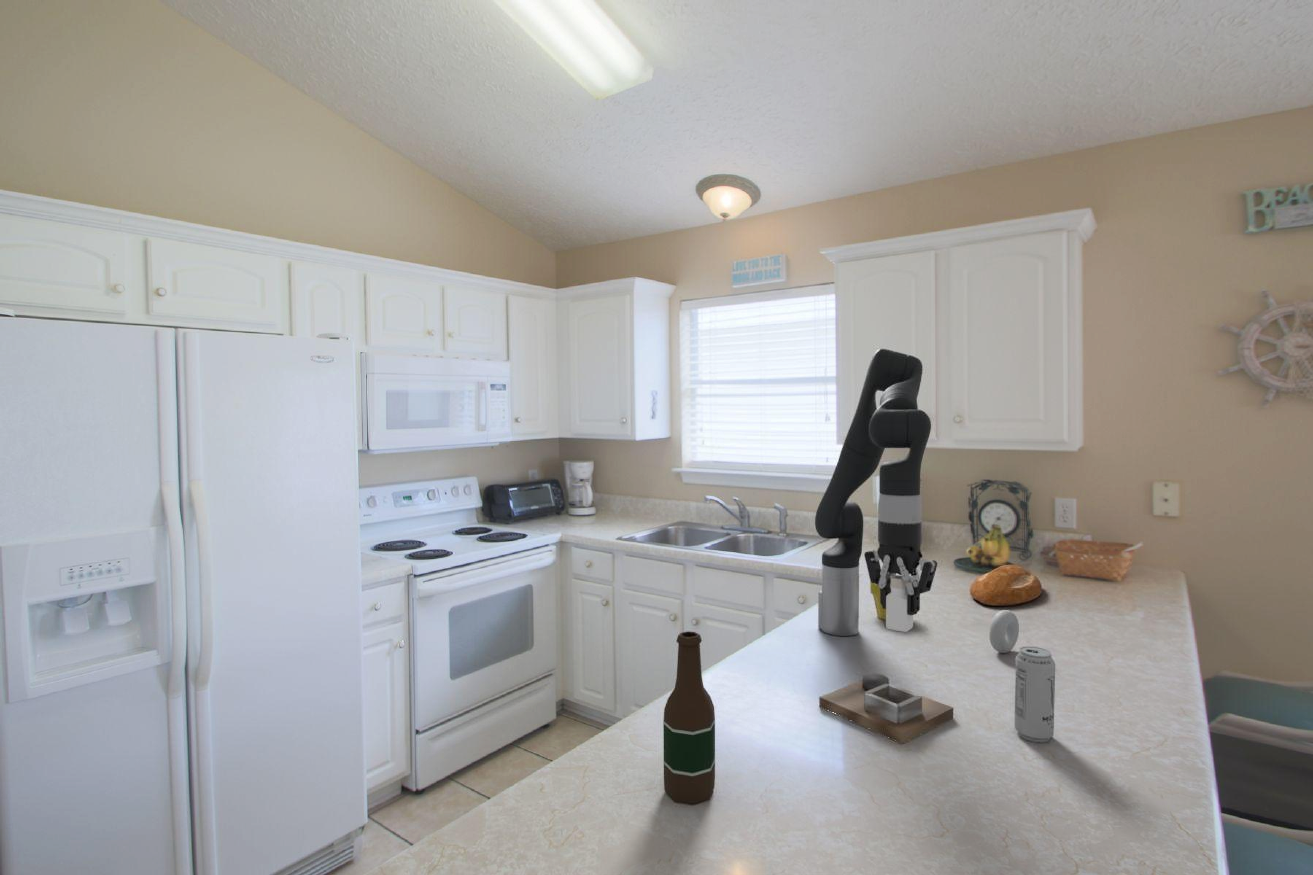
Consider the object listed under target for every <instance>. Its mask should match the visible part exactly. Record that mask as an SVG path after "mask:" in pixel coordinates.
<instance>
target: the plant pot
mask: <svg viewBox="0 0 1313 875" xmlns="http://www.w3.org/2000/svg"><path fill="white" fill-rule="evenodd" d="M869 581H870V580H869ZM869 583H870V584H869V586H870V587H869V588H870V593H871V595H872V596H873V601H874V605H875V609H876V610H875V611H876V615H877V617H878V618H879V619H882V620H884V621H886V609H883V608H882V605H881V603H880V588H879V586H878V585H877V584H875V583H871V581H870V582H869ZM890 588H891V586H890ZM908 594H909V593H908Z"/></svg>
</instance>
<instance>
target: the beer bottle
mask: <svg viewBox="0 0 1313 875" xmlns="http://www.w3.org/2000/svg"><path fill="white" fill-rule="evenodd" d="M702 641H703V640H702V637H701V634H700V633H697V632H696V631H682V632H680V633H679V634H678V635H677V638H676V643H677V644H678V647H677V648H678V650H677V662H676V663H677V667H676V678H675V685H674V688H673V690H672V691H671V693H670V695H669V697H668V698H667V700H666V703H665V706H664V708H663V709H664V710H663V721H662V723H663V789H664V791H665V794H667V796H669V798H670V799H671V800H672V801H673V802H674V803H679V804H684V805H690V806H696V805H699V804H701V803H703V802H708V801H709V800H710V799H711V796H712V793H713V792H714V789H715V784H716V782H715V781H716V716H715V706H714V702H713V700H712V697H711V695H710V694H709V693H708V691H707V690H706V688H705V687H704V683H703V676H702V660H701V647H700V646H701V643H702Z"/></svg>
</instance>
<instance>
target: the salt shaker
mask: <svg viewBox="0 0 1313 875" xmlns="http://www.w3.org/2000/svg"><path fill="white" fill-rule="evenodd" d="M907 595H908V590H907V587H906V583H905V582H904V581H903V579H902V575H899V574H896V575H895V576H891V593H889V594H888V595H887V596H886V620H885V627H886V629H888V630H892V631H896V632H897V631H898V632H903V633H907V632H908V631H909V630H911V629H912V628H913V626H914V615H908V614H907Z"/></svg>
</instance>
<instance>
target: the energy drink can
mask: <svg viewBox="0 0 1313 875" xmlns="http://www.w3.org/2000/svg"><path fill="white" fill-rule="evenodd" d="M1054 660H1055V659H1053V656H1052V652H1051V651H1049V650H1048V649H1045V648H1042V647H1038V646H1022V647H1020V648H1019V653H1018V654H1017V655H1016V656H1015V672H1014V674H1015V675H1014V676H1015V677H1014V718H1013V719H1014V723H1013V724H1014V725H1013V726H1014V729H1015V730H1016V731H1017V734H1018V735H1019V737H1020V738H1022V739H1024V740H1027V741H1030V742H1033V743H1047V742H1049V741H1050V740H1051V738H1053V736H1054V735H1055V734H1054V732H1055V731H1054V730H1055V728H1054V727H1055V699H1056V698H1055V697H1056V696H1055V695H1056V694H1055V690H1056V688H1055V687H1056V662H1055V661H1054Z"/></svg>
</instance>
